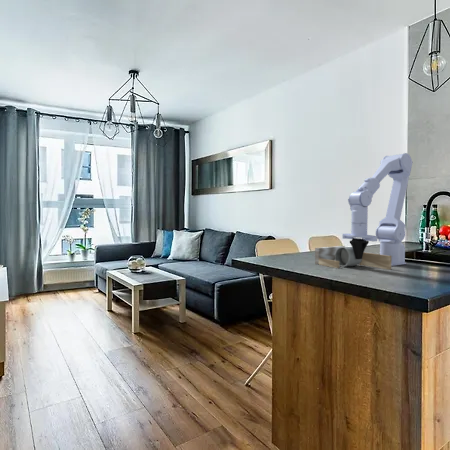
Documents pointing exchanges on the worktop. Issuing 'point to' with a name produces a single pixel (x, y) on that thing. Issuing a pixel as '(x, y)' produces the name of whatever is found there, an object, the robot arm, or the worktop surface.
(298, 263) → the worktop surface
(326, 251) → the brown wooden pieces
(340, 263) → the ceramic mug
